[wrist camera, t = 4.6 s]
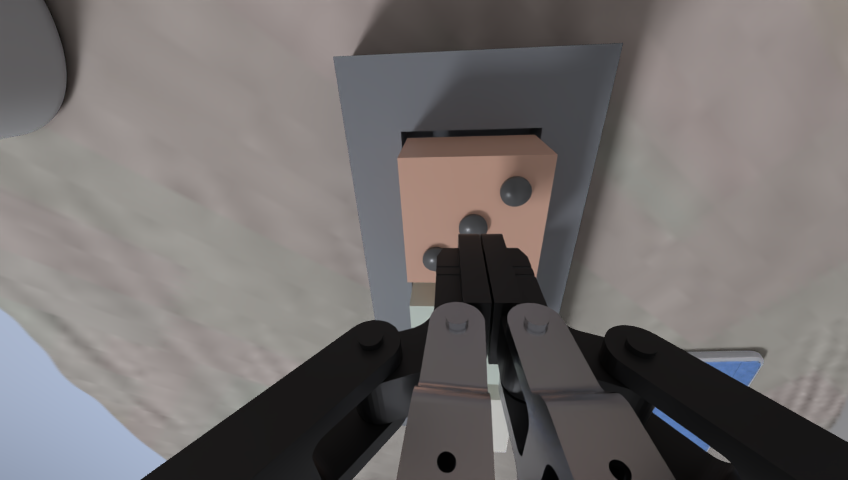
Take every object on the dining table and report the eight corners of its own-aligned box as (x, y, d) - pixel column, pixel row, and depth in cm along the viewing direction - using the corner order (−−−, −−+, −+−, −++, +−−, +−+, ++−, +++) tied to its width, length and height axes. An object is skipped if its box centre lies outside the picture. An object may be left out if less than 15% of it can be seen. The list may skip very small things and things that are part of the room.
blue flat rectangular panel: (686, 466, 34) (694, 480, 33) (567, 465, 36) (570, 478, 35) (757, 343, 25) (772, 357, 24) (591, 348, 26) (597, 361, 25)
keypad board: (593, 45, 15) (623, 42, 13) (523, 398, 29) (531, 431, 27) (351, 56, 16) (333, 56, 14) (396, 393, 30) (391, 424, 28)
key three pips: (534, 134, 15) (559, 156, 11) (520, 244, 18) (536, 286, 14) (407, 138, 15) (396, 159, 12) (414, 244, 18) (406, 285, 15)
